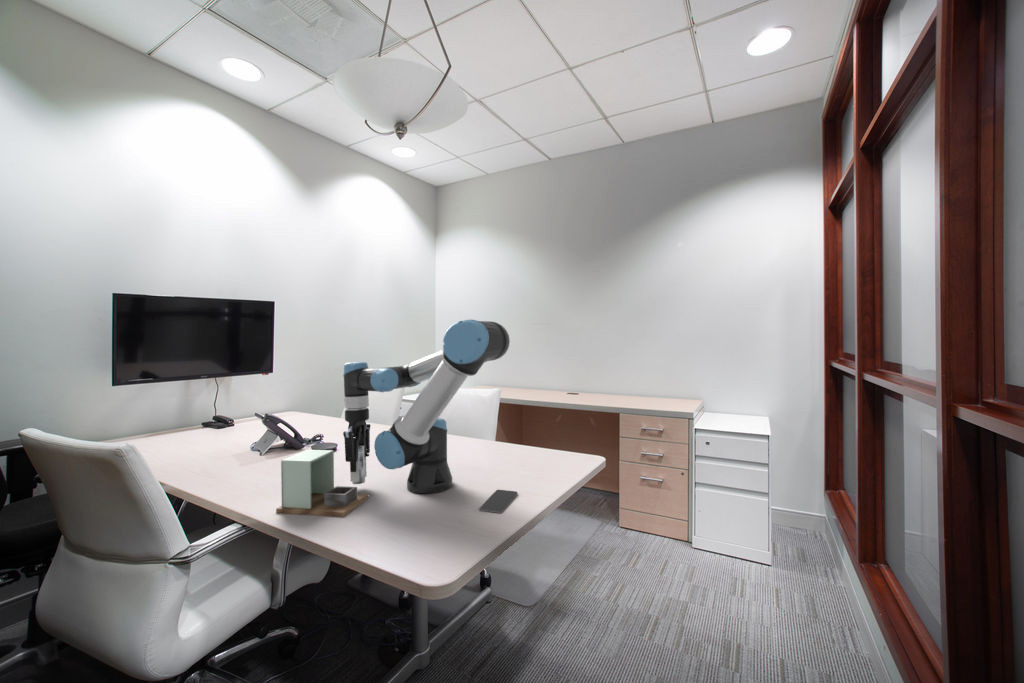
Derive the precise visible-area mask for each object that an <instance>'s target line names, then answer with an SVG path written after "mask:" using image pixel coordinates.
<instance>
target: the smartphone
mask: <svg viewBox="0 0 1024 683" xmlns="http://www.w3.org/2000/svg"><path fill="white" fill-rule="evenodd" d="M517 495H518V491H514V490H505V489H496V490H495V491H494V492H493V493H492V494H491V495H490V496H489V497H488V498H487V500H486V501H485V502H484V503H482V505H481V506H480V507H479V508H478V511H479V512H484V513H491V514H498V515H499V514H500V515H501V514H503V512H504V511H505V510H506V509H507V508H508V506H510V504H511V503H512V502H513V500H514V499H515V498H516V496H517Z"/></svg>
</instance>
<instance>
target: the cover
mask: <svg viewBox="0 0 1024 683" xmlns="http://www.w3.org/2000/svg"><path fill="white" fill-rule="evenodd" d="M334 452H335V451H334V450H333V449H328V450H327V449H306V450H303V451H301V452H298V453H296V454H293V455H291V456H289V457H286V458H283V459H281V461H280V463H281V464H280V465H281V466H280V470H281V473H280V474H281V475H280V476H281V478H280V479H281V481H280V482H281V506H282V507H289V508H306V509H310V508H311V493H320V494H325V493H327V492H328V491H330V490H331V489H333V488H335V465H334V464H335V453H334Z"/></svg>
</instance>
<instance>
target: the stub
mask: <svg viewBox="0 0 1024 683" xmlns="http://www.w3.org/2000/svg"><path fill="white" fill-rule="evenodd" d="M357 461H359V482H352V481H351V482H352V484H353V485H361V484H364V483H366V477H365V455H364V445H358V458H357Z"/></svg>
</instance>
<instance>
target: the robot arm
mask: <svg viewBox="0 0 1024 683" xmlns="http://www.w3.org/2000/svg"><path fill="white" fill-rule="evenodd" d="M510 340H511V339H510V334H509V333H508V331H507V329H506V328H505V327H504V326H503V325H502V324H500V323H498V322H496V321H487V320H484V321H482V320H476V319H465V320H459V321H456V322H455V323H453V324H451V325H450V326H449V327H448V328H447V330H446V331H445V333H444V335H443V340H442V342H443V345H442V348H443V349H441V350H439V351H437V352H434V353H432V354H429V355H426V356H423V357H422V358H420V359H417V360H413V361H412V362H409V363H407V364H405V365H400V366H390V367H389V366H388V367H386V366H385V367H371V368H369V365H368V362H366V361H352V362H351V361H350V362H345V364H344V366H343V388H344V389H343V390H344V391H343V392H344V394H343V395H344V399H343V400H344V408H345V410H344V421H345V422H347V423H348V427H347V430H346V431H343V432H342V434H343V438H344V455H345V459H344V460H345V462H346V463H349V467H350V468H349V469H350V470H349V471H350V473H349V474H350V478H349V479H350V482H359V461H357V458H358V445H364V455H365V478H366V477H367V457H370V452H371V451H370V450H371V449H370V446H371V444H370V442H371V437H370V432H371V424H370V423H367V421H368V420H369V418H370V409H369V408H368V407H370V404H369V402H370V400H369V392H378V393H386V392H387V393H388V392H392V391H394V390H397V389H405V388H412V387H415V386H419V385H420V384H421V383H422V382H425V381H427V382H426V384H425V385H424V387H423V388H422V390H421V391H420V393H419V394H418V396H417V397H416V399H415V400H414V402H413V403H412V405H411V406H410V408H409V409H408V411H406V413H405V415H401V416H399V417H397V418H396V419H395V421H394V422H393V424H392V425H391V427H390V428H389V429H388V430H383V431H381V432H380V433H378V434H377V436H376V437H375V440H374V448H373V449H374V451H375V452H374V453H375V456H376V458H377V461H378V462H379V464H380V465H381V466H382V467H384V468H385V469H387V470H397V469H401V468H403V467H405V466H407V465H410V464H411V467H410V470H409V473H408V477H407V480H406V489H407V491H409V492H412V493H416V494H436V493H441V492H444V491H446V490H448V489H450V488H451V487H453V475H452V472H451V469H450V466H449V463H448V427H447V421H446V420H445V418H440V416H441V414H442V413H443V412H444V410H445V409H446V408H447V406H448V405H449V404H450V402H451V400H452V399H453V398H454V396H455V395H456V393H457V392H458V391H459V389H460V388H461V387H462V386H463V384H464V382H465V381H466V380H467V378H469V377H473V376H475V375H477V373H478V372H479V370H481V368H482V366H483V365H484V363H486V362H490V361H496V360H498V359H501V358H502V357H503V356H505V355H506V353H507V352H508V350H509V347H510V342H511V341H510Z"/></svg>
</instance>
